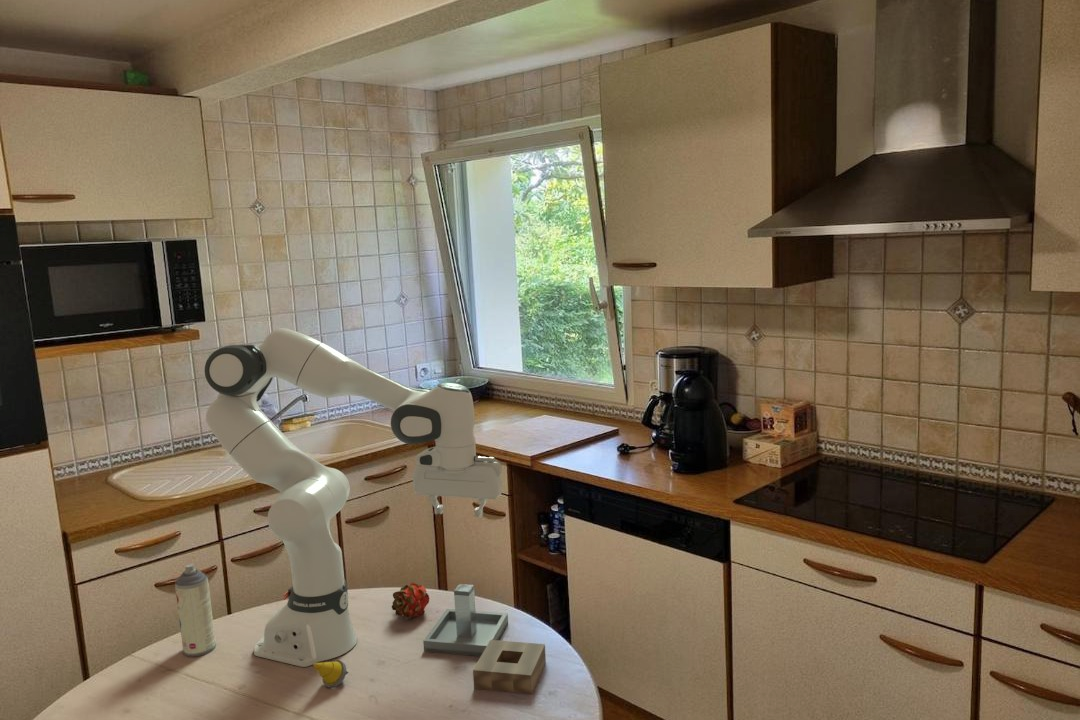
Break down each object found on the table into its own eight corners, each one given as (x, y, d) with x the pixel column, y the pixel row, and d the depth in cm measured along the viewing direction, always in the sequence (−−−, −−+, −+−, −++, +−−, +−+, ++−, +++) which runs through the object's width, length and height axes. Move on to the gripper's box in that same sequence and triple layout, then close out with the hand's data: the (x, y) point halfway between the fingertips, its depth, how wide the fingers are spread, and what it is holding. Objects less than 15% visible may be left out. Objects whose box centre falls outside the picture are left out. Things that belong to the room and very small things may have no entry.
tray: (424, 651, 174) (423, 640, 174) (447, 618, 189) (446, 608, 188) (489, 656, 171) (488, 646, 170) (508, 623, 185) (507, 613, 185)
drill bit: (354, 687, 163) (322, 672, 156) (333, 695, 164) (301, 681, 157) (355, 661, 166) (324, 646, 160) (334, 669, 168) (302, 655, 161)
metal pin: (456, 636, 179) (453, 590, 177) (462, 629, 182) (459, 583, 180) (471, 638, 178) (468, 591, 176) (476, 630, 181) (473, 584, 179)
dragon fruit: (400, 634, 186) (416, 617, 198) (428, 613, 185) (442, 597, 196) (379, 604, 186) (396, 589, 198) (407, 583, 185) (422, 569, 197)
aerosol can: (190, 642, 183) (180, 560, 180) (220, 640, 183) (210, 558, 180) (178, 657, 176) (167, 572, 173) (209, 656, 177) (198, 571, 173)
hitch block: (474, 688, 159) (472, 670, 159) (491, 657, 171) (490, 639, 170) (532, 694, 156) (531, 675, 156) (545, 661, 168) (544, 644, 167)
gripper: (505, 453, 177) (506, 512, 179) (419, 449, 182) (422, 507, 184) (496, 461, 171) (498, 522, 173) (408, 457, 176) (411, 516, 178)
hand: (458, 514), depth 179 cm, fingers open, 8 cm apart
